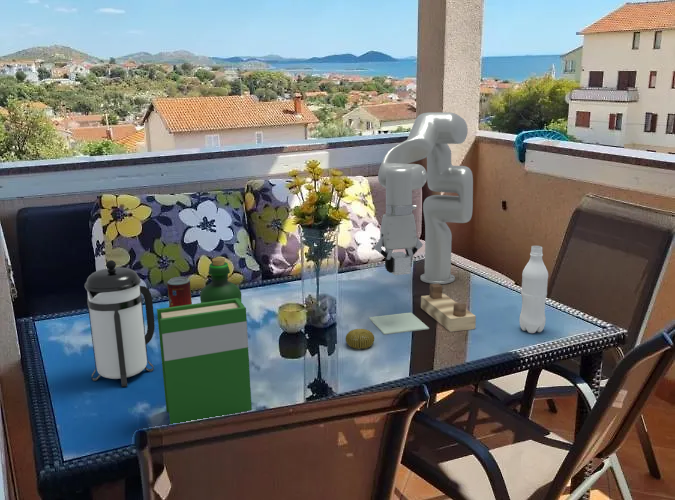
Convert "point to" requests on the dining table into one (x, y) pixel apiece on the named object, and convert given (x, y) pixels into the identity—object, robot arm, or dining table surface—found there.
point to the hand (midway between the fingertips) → (398, 270)
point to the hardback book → (205, 359)
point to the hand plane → (447, 310)
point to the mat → (398, 323)
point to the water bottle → (534, 292)
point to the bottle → (219, 283)
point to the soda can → (179, 291)
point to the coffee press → (119, 322)
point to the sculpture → (360, 338)
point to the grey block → (400, 263)
